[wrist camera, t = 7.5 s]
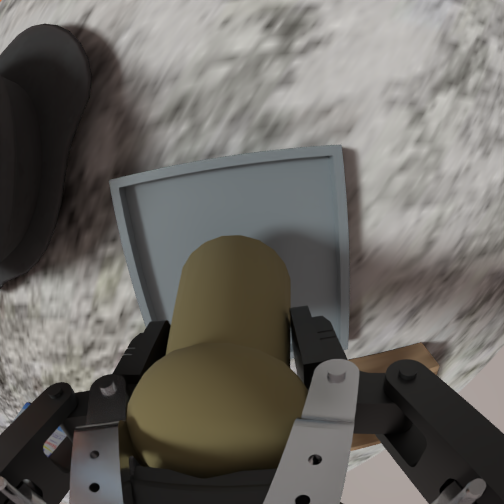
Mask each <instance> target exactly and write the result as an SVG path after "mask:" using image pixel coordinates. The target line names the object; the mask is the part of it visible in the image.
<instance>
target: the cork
mask: <svg viewBox="0 0 504 504" xmlns="http://www.w3.org/2000/svg"><path fill="white" fill-rule="evenodd" d="M289 308H291V279H290V276H289V273H288V270H287V268H286V265H285V263H284V261H283V260H282V259H281V258H280V256H279V255H278V254H277V253H276V251H275V250H274V249H272V248H271V247H269V246H267V245H266V244H264V243H263V242H261V241H260V240H257V239H253V238H250V237H246V236H242V235H231V236H220V237H218V238H215V239H212V240H210V241H207V242H205V243H203V244H202V245H201V246H200V247H198V248H197V249H196V250H195V251H193V252H192V253H191V255H190V256H189V258H188V259H187V261H186V263H185V264H184V266H183V268H182V273H181V277H180V282H179V287H178V292H177V296H176V301H175V306H174V311H173V317H172V322H171V327H170V333H169V338H168V344H167V350H166V356H164V357H163V358H161V359H159V360H158V361H156V362H155V363H154V364H153V365H152V366H151V367H150V368H149V369H148V370H147V371H146V372H145V373H144V375H143V376H142V378H141V379H140V381H139V383H138V384H137V386H136V388H135V389H134V391H133V394H132V396H131V398H130V400H129V402H128V408H127V426H128V430H129V434H130V438H131V441H132V445H133V447H134V449H135V450H136V452H137V454H138V456H139V458H140V459H141V461H142V462H143V464H144V465H145V466H146V467H152V468H161V469H169V470H172V471H176V472H179V473H182V474H186V475H189V476H193V477H197V478H201V479H205V478H211V477H216V476H221V475H226V474H231V473H235V472H239V471H250V470H265V469H276V468H278V466H279V463H280V460H281V458H282V455H283V452H284V450H285V447H286V444H287V441H288V438H289V436H290V433H291V430H292V427H293V424H294V421H295V419H296V418H297V417H301V416H302V412H303V409H304V405H305V402H306V399H307V395H308V389H307V388H306V386H305V385H304V383H303V382H302V380H301V379H300V377H299V376H297V375H296V374H295V373H294V372H293V371H292V370H291V369H290V342H291V325H290V313H289Z"/></svg>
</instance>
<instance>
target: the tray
mask: <svg viewBox="0 0 504 504" xmlns="http://www.w3.org/2000/svg"><path fill="white" fill-rule="evenodd" d="M109 184H110V190H111V196H112V201H113V206H114V211H115V216H116V220H117V225H118V230H119V234H120V238H121V242H122V247H123V251H124V255H125V259H126V262H127V266H128V270H129V274H130V277H131V281H132V284H133V288H134V291H135V294H136V298H137V301H138V304H139V307H140V311H141V314H142V317H143V320H144V323H145V326H146V327H147V326H148V324H149V322H150V321H162V320H168V321H169V323H170V325H171V322H172V317H173V311H174V306H175V301H176V296H177V292H178V287H179V282H180V277H181V273H182V268H183V266H184V264H185V263H186V261H187V259H188V258H189V256H190V255H191V253H192V252H193V251H195V250H196V249H197V248H198V247H200V246H201V245H202V244H203V243H205V242H207V241H210V240H212V239H215V238H218V237H220V236H231V235H242V236H246V237H250V238H253V239H257V240H260V241H261V242H263V243H264V244H266V245H267V246H269V247H271V248H272V249H274V250H275V251H276V253H277V254H278V255H279V256H280V258H281V259H282V260H283V261H284V263H285V265H286V268H287V270H288V273H289V276H290V279H291V308H292V307H299V306H306V305H308V308H309V310H310V313H311V316H312V317H315V316H324V317H325V318H326V319H328V320H329V321H330V322H331V324H332V326H333V328H334V331H335V333H336V335H337V337H338V339H339V342H340V344H341V346H342V348H343V350H346V349H348V336H349V300H350V271H349V234H348V214H347V199H346V186H345V174H344V164H343V154H342V146H341V145H326V146H312V147H300V148H289V149H280V150H270V151H262V152H254V153H246V154H239V155H232V156H225V157H219V158H213V159H207V160H201V161H195V162H190V163H184V164H179V165H174V166H169V167H164V168H159V169H154V170H150V171H145V172H141V173H137V174H132V175H128V176H124V177H120V178H116V179H112V180H109ZM291 358H294V354H293V347H292V338H291V342H290V359H291Z"/></svg>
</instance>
